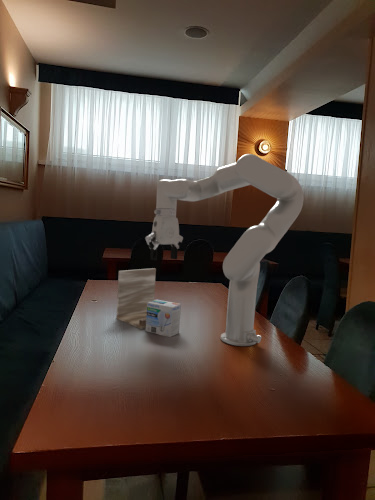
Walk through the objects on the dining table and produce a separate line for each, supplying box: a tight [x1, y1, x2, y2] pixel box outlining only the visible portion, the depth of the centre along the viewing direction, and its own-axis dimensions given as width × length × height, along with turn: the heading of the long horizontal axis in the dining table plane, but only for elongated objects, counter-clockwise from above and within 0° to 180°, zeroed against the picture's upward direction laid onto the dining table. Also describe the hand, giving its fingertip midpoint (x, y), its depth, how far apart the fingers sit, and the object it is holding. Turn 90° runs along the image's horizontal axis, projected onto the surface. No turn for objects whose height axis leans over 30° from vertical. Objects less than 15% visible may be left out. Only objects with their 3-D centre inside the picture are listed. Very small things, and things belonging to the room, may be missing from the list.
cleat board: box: [116, 267, 157, 330], centre depth 151 cm, size 16×18×19 cm
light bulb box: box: [145, 299, 182, 338], centre depth 138 cm, size 11×7×11 cm, turn 62°
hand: (163, 259), depth 144 cm, fingers open, 9 cm apart
